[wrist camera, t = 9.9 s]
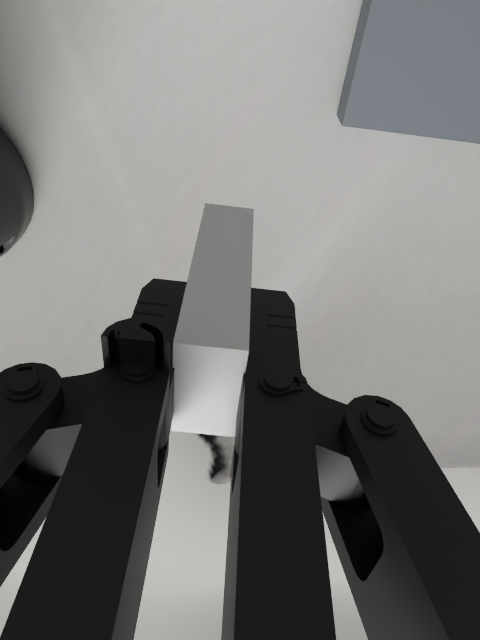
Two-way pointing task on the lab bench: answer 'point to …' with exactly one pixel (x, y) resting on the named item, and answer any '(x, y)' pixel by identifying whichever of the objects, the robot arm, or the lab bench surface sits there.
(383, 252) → the lab bench surface
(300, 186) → the lab bench surface
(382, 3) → the grey flat block
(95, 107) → the lab bench surface
